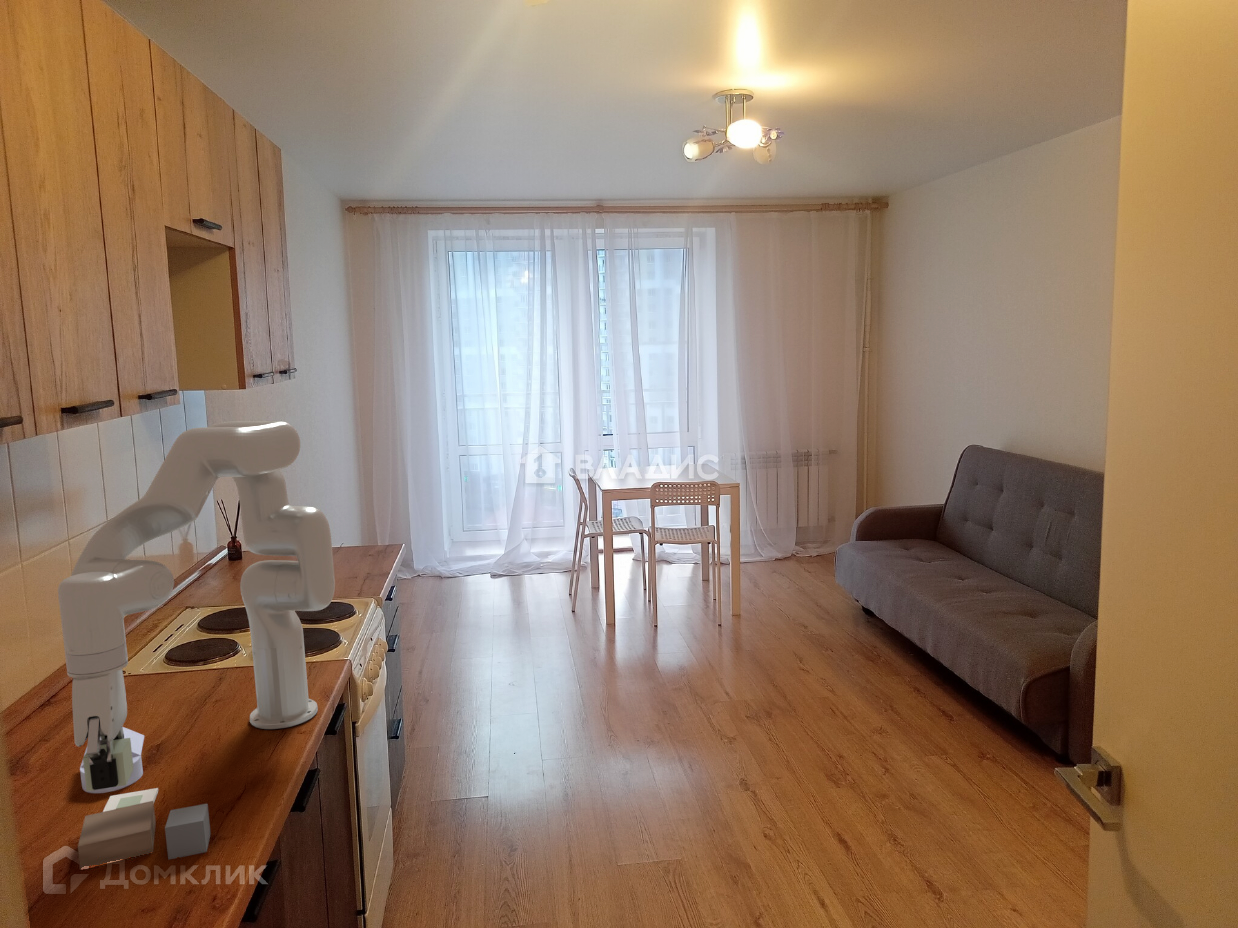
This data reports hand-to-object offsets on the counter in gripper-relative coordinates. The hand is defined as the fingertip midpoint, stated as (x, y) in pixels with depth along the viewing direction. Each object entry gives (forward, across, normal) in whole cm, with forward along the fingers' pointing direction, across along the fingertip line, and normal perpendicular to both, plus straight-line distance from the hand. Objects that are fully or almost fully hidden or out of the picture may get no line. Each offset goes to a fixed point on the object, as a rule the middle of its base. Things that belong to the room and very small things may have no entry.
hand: (110, 776), depth 125 cm
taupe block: (+11, 0, 0) cm, 11 cm away
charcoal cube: (+11, +4, +10) cm, 16 cm away
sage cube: (+1, 0, 0) cm, 1 cm away
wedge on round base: (+11, -25, -6) cm, 28 cm away
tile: (+11, -12, -1) cm, 16 cm away
